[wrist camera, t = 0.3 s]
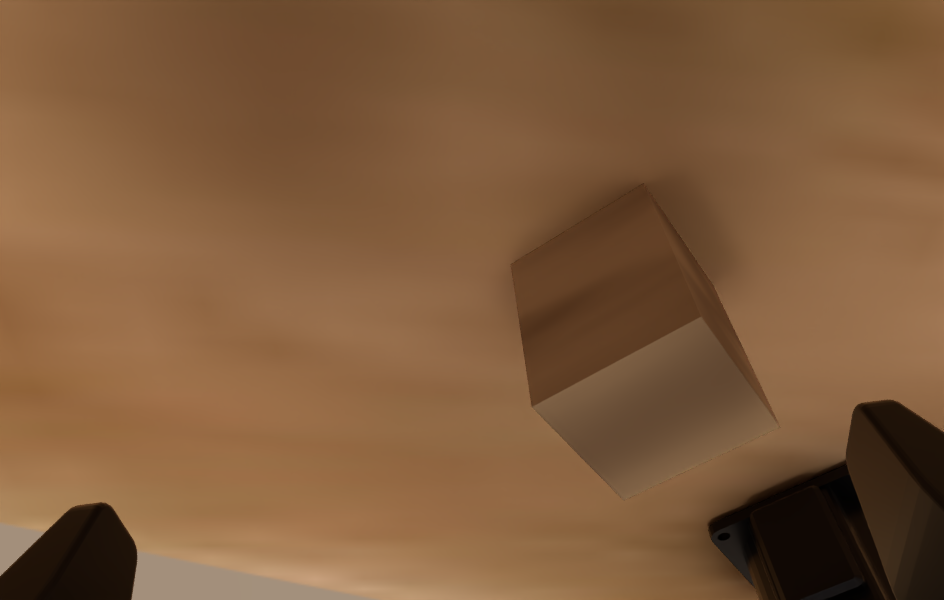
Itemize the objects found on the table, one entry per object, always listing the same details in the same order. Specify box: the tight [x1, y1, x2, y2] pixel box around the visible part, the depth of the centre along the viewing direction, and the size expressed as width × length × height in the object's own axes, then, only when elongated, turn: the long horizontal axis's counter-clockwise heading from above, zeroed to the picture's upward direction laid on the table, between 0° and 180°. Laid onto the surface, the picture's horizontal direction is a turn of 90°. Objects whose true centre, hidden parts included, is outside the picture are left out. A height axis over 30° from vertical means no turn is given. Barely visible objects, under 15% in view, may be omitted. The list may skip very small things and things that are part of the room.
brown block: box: [511, 184, 780, 500], centre depth 22 cm, size 4×4×6 cm
